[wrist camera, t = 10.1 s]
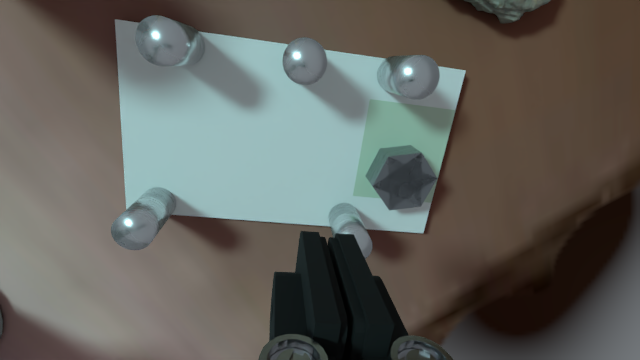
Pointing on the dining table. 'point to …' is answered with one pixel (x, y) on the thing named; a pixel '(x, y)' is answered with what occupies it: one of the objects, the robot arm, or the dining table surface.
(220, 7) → the dining table surface
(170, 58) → the spacers
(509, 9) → the elongated rock
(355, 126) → the board
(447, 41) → the dining table surface
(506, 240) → the dining table surface
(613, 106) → the dining table surface
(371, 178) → the grey faceted hexagonal block
